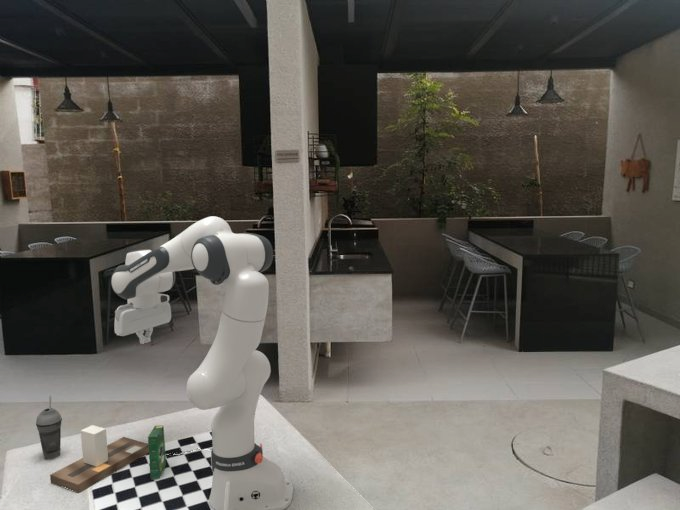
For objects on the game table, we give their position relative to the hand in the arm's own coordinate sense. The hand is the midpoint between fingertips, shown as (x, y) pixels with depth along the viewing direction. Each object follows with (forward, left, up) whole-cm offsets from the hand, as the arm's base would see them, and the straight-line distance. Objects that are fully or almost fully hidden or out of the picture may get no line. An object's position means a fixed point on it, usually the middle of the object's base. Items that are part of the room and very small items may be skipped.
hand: (145, 342), depth 171 cm
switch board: (+11, +12, -35) cm, 39 cm away
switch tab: (+12, +14, -32) cm, 37 cm away
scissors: (-17, +4, -36) cm, 40 cm away
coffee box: (-7, +17, -35) cm, 40 cm away
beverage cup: (+30, +4, -35) cm, 46 cm away
